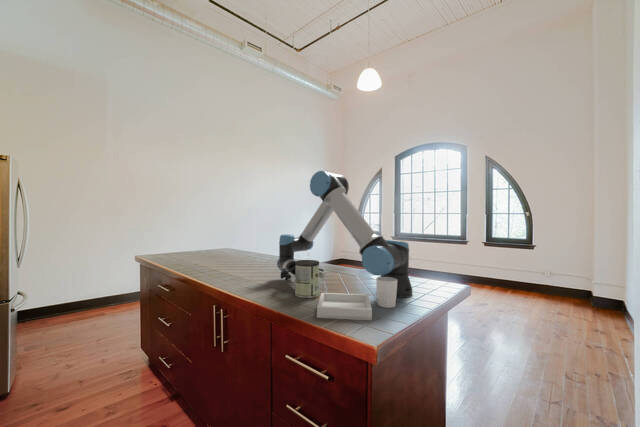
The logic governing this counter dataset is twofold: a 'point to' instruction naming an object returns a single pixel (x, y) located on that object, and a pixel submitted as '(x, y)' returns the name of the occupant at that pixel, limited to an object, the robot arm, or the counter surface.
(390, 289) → the white cup
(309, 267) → the coffee can
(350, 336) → the counter surface
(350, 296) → the tray
